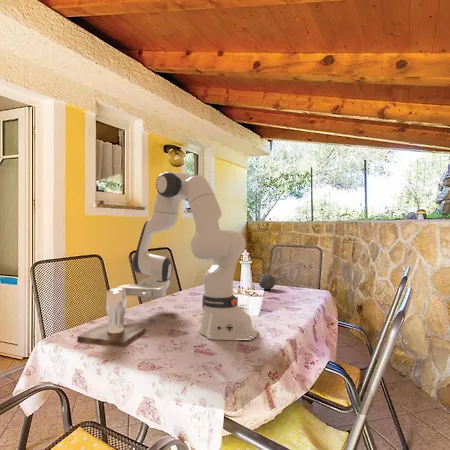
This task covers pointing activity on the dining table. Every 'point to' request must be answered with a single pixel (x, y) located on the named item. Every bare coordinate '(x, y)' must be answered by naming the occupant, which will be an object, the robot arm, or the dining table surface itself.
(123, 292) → the beer glass
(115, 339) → the walnut board
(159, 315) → the dining table surface
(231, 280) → the robot arm
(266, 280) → the decorative ball
